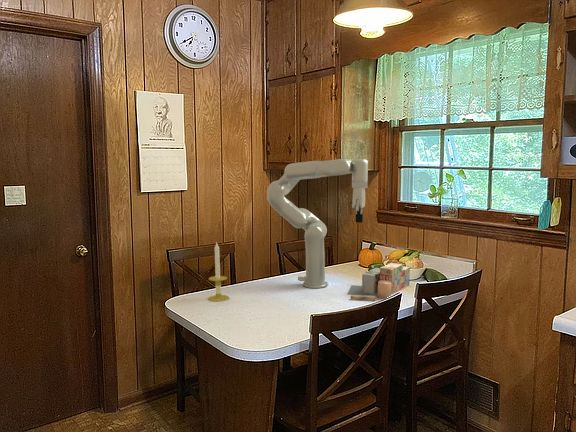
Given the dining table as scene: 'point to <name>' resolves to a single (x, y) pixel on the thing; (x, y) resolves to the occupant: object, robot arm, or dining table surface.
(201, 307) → the dining table surface
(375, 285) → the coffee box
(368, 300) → the stop strip
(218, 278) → the candle
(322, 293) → the dining table surface
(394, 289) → the stack of blocks
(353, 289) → the mat
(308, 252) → the robot arm
